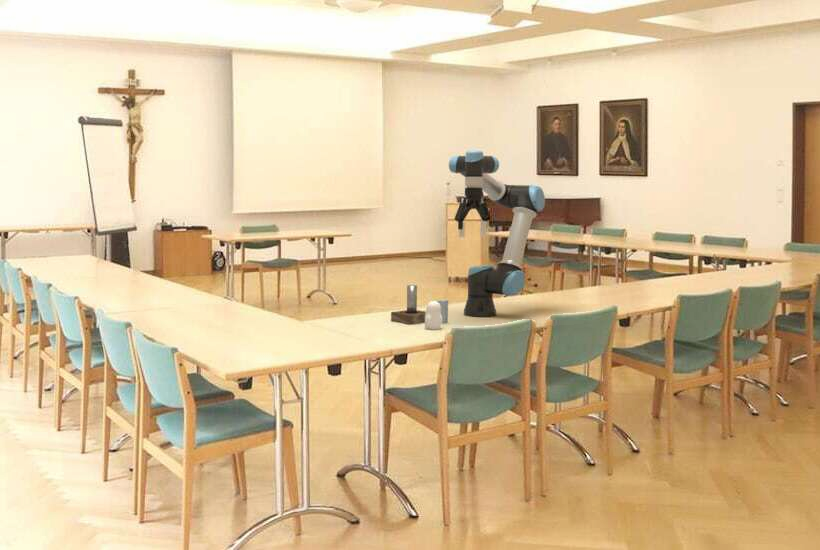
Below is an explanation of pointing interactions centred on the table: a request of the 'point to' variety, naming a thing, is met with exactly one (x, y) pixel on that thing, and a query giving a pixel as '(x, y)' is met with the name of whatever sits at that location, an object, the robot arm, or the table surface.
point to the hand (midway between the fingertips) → (472, 236)
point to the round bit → (411, 299)
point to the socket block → (408, 317)
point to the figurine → (433, 316)
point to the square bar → (444, 310)
